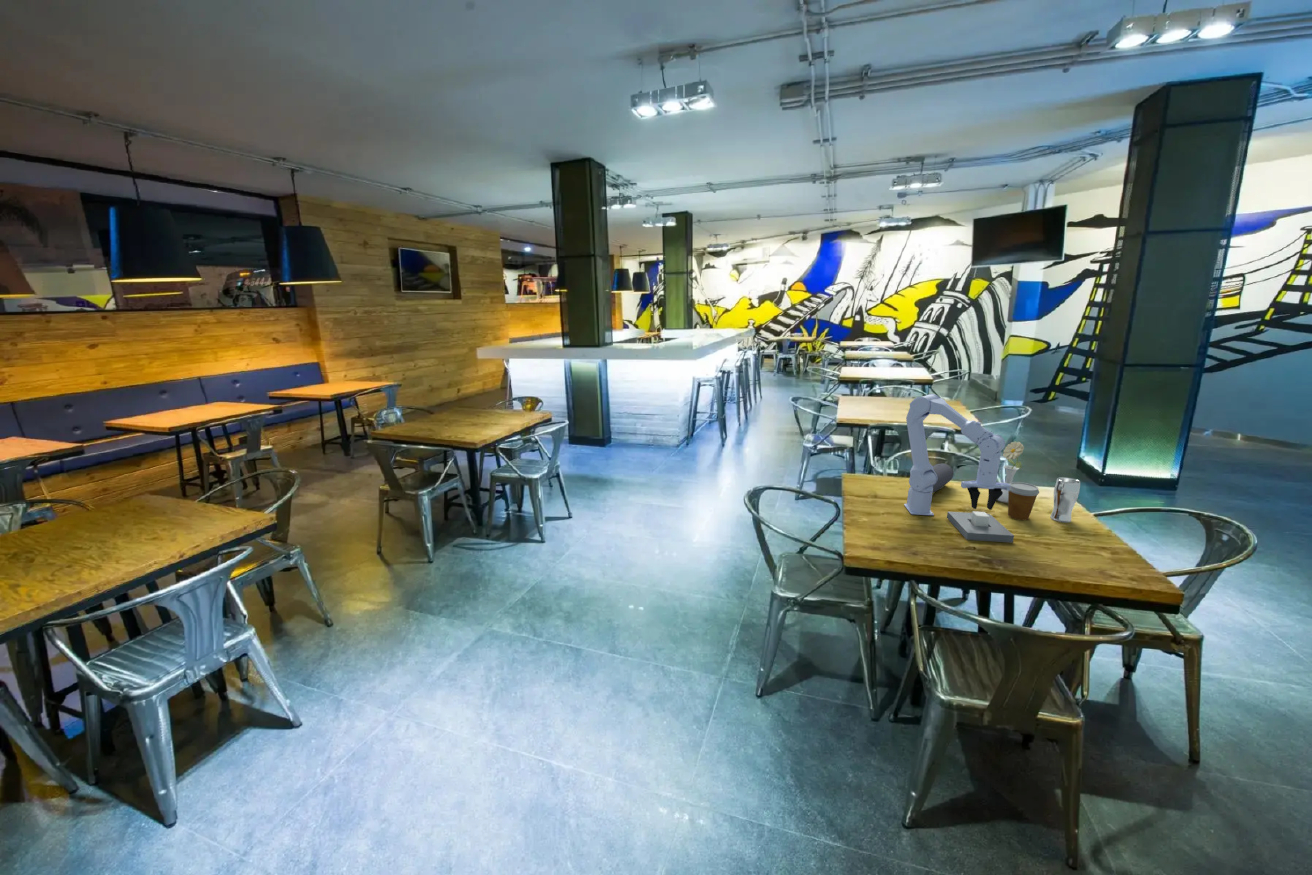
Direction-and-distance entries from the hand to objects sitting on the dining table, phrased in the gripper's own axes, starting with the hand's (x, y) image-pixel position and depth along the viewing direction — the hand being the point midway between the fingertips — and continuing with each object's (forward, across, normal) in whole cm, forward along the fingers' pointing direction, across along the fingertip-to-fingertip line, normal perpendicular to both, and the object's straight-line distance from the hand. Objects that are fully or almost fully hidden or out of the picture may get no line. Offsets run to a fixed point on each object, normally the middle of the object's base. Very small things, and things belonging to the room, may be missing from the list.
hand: (981, 508), depth 177 cm
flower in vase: (+8, +22, +30) cm, 38 cm away
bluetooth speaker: (+8, -3, +38) cm, 39 cm away
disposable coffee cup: (+8, +19, +14) cm, 25 cm away
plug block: (+8, 0, 0) cm, 8 cm away
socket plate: (+8, 0, 0) cm, 8 cm away
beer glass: (+8, +33, +14) cm, 37 cm away
